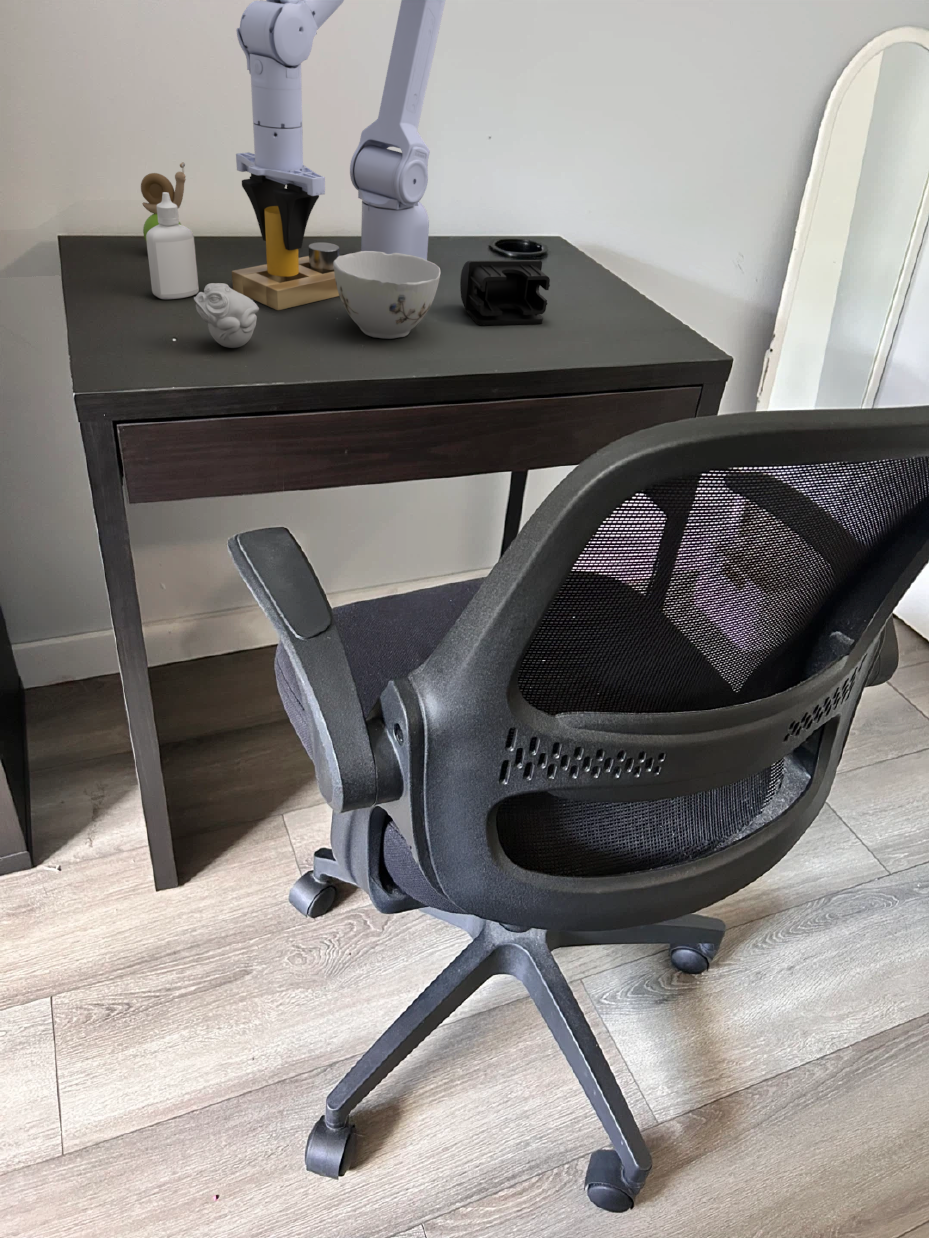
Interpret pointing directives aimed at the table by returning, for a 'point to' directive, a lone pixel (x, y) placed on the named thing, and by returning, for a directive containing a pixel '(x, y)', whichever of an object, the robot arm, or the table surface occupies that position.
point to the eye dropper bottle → (171, 254)
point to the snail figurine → (160, 194)
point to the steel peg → (322, 257)
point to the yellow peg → (278, 247)
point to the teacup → (386, 290)
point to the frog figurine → (227, 314)
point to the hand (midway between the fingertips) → (281, 244)
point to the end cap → (504, 291)
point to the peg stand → (285, 286)
